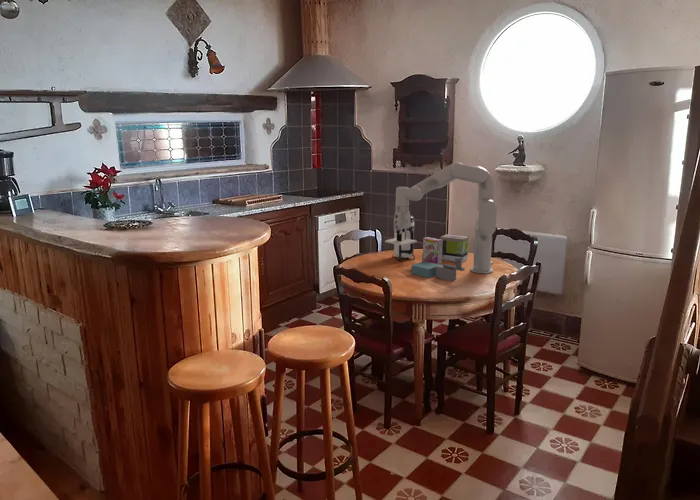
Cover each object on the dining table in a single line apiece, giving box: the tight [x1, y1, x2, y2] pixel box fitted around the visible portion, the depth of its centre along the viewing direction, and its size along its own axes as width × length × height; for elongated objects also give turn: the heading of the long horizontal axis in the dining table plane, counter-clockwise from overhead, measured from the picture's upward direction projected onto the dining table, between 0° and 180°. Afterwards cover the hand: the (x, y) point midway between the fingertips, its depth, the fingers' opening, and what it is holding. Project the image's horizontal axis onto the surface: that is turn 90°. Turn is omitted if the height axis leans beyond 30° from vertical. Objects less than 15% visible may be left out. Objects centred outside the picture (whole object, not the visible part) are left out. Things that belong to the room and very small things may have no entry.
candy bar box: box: [421, 236, 443, 265], centre depth 323 cm, size 11×5×16 cm, turn 47°
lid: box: [384, 231, 418, 246], centre depth 314 cm, size 13×13×6 cm
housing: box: [410, 261, 457, 282], centre depth 304 cm, size 12×24×6 cm, turn 46°
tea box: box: [439, 234, 469, 263], centre depth 337 cm, size 15×10×15 cm
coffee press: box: [391, 214, 416, 262], centre depth 338 cm, size 17×16×30 cm
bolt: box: [442, 257, 466, 272], centre depth 294 cm, size 5×12×6 cm, turn 46°
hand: (401, 239), depth 315 cm, fingers closed on lid, 3 cm apart
